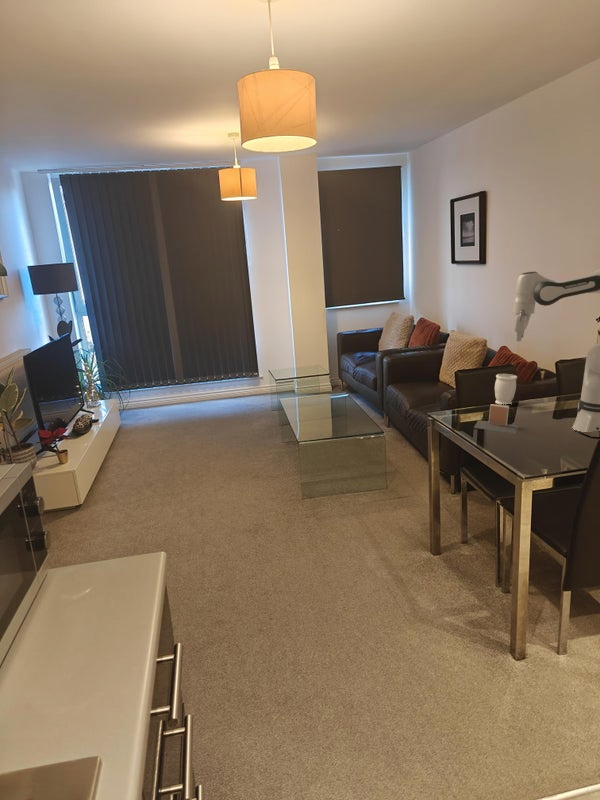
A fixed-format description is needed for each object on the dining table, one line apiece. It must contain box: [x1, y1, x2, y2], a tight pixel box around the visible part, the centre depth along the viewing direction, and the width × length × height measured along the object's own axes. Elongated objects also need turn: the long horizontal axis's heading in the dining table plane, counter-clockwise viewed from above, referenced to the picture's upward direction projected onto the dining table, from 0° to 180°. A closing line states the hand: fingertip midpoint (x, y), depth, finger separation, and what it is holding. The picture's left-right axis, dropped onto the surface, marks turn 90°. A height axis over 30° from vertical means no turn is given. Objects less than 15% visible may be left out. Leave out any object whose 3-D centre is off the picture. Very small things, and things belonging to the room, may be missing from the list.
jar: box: [494, 373, 518, 406], centre depth 278 cm, size 11×10×15 cm
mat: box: [473, 419, 519, 435], centre depth 243 cm, size 18×12×1 cm, turn 63°
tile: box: [488, 403, 510, 426], centre depth 245 cm, size 8×2×9 cm, turn 63°
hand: (519, 339), depth 241 cm, fingers open, 8 cm apart
